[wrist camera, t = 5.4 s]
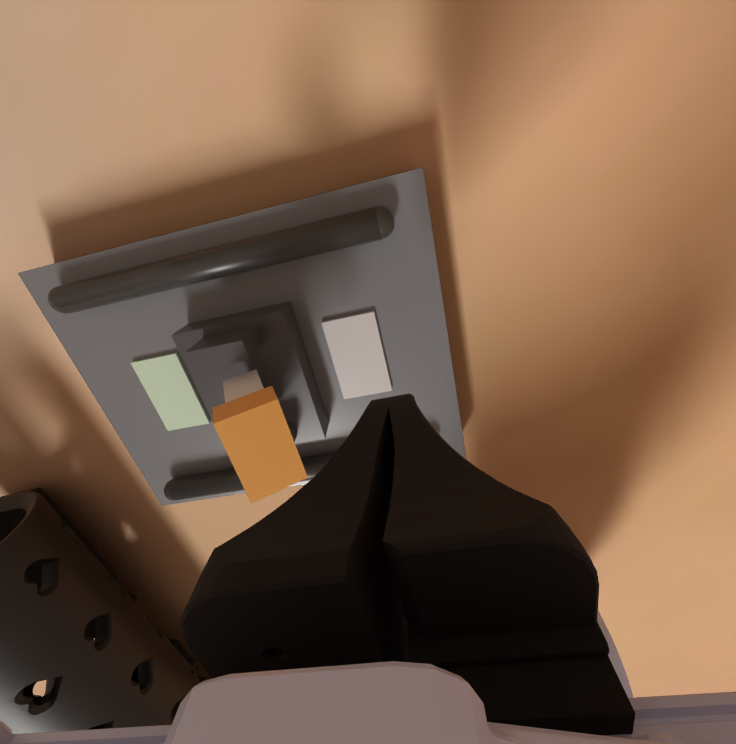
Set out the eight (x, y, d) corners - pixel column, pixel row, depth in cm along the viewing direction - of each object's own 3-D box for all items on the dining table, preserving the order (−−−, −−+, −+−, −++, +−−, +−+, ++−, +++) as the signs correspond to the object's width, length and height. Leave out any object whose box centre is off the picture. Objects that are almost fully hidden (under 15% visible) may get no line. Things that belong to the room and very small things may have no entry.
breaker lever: (259, 357, 16) (277, 399, 12) (284, 421, 17) (307, 477, 13) (211, 375, 15) (213, 423, 11) (240, 439, 16) (251, 503, 12)
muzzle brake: (91, 464, 24) (-94, 636, 15) (266, 691, 35) (223, 869, 26) (-25, 492, 26) (-258, 664, 16) (178, 701, 37) (108, 872, 28)
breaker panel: (418, 169, 16) (431, 161, 11) (459, 437, 22) (479, 504, 17) (54, 264, 18) (-57, 289, 14) (178, 481, 24) (129, 550, 20)
